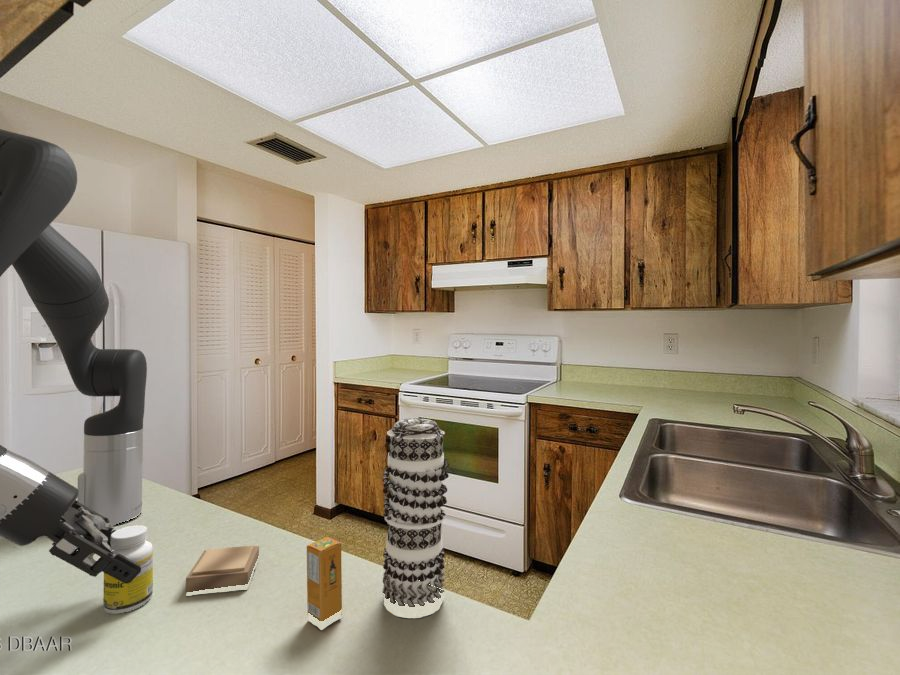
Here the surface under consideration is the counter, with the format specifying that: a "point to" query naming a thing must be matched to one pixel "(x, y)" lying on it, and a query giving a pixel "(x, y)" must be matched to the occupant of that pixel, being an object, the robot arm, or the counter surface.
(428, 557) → the decorative candle
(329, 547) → the supplement box
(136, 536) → the supplement bottle
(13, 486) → the robot arm
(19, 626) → the counter surface
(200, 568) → the stand
